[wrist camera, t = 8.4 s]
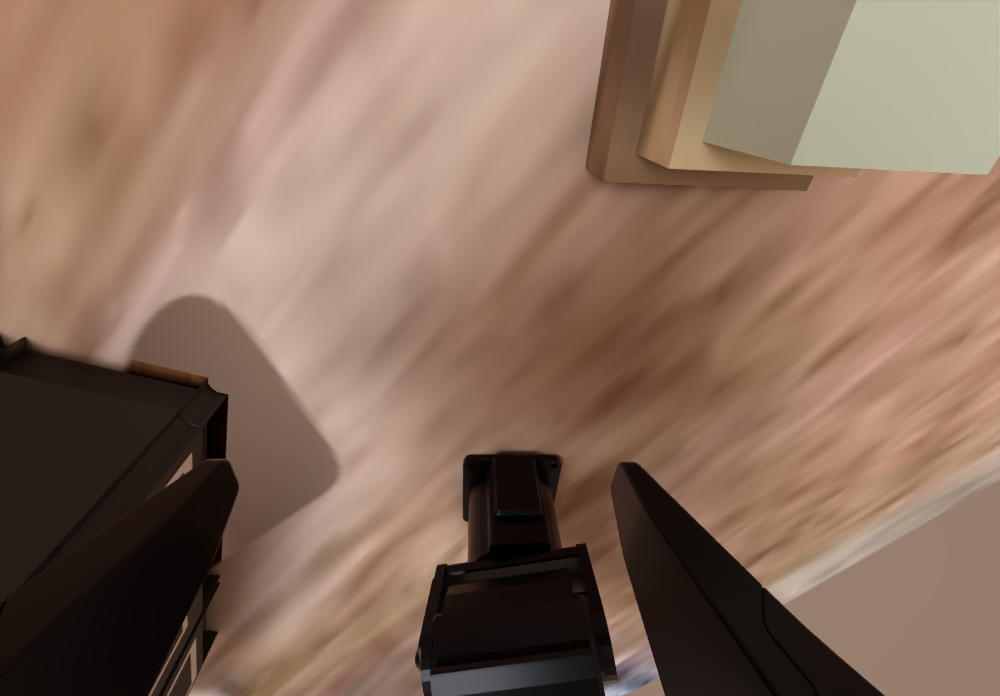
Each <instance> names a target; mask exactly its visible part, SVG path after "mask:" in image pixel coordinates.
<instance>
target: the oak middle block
mask: <svg viewBox="0 0 1000 696" xmlns="http://www.w3.org/2000/svg"><path fill="white" fill-rule="evenodd" d="M741 4H742V0H668V3H667V8H666V13H665V17H664V22H663V27H662V32H661V36H660V41H659V46H658V51H657V56H656V60H655V65H654V70H653V75H652V79H651V84H650V89H649V94H648V99H647V103H646V108H645V113H644V118H643V122H642V127H641V132H640V137H639V141H638V146H637V151H636V154H637V155H640V156H642V157H644V158H646V159H648V160H651V161H653V162H655V163H657V164H660V165H662V166H664V167H666V168H668V169H688V170H710V171H731V172H753V173H774V174H796V175H817V176H839V177H857V175H858V173H859V171H860V168H840V167H820V166H800V165H788V164H785V163H781V162H777V161H773V160H769V159H766V158H762V157H758V156H754V155H751V154H747V153H743V152H739V151H736V150H732V149H728V148H724V147H720V146H717V145H713V144H709V143H705V142H702V140H703V137H704V133H705V130H706V126H707V123H708V119H709V116H710V112H711V109H712V105H713V102H714V98H715V95H716V91H717V88H718V84H719V81H720V77H721V74H722V70H723V67H724V63H725V60H726V56H727V53H728V49H729V46H730V42H731V39H732V35H733V32H734V28H735V25H736V21H737V18H738V14H739V11H740V7H741Z"/></svg>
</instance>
